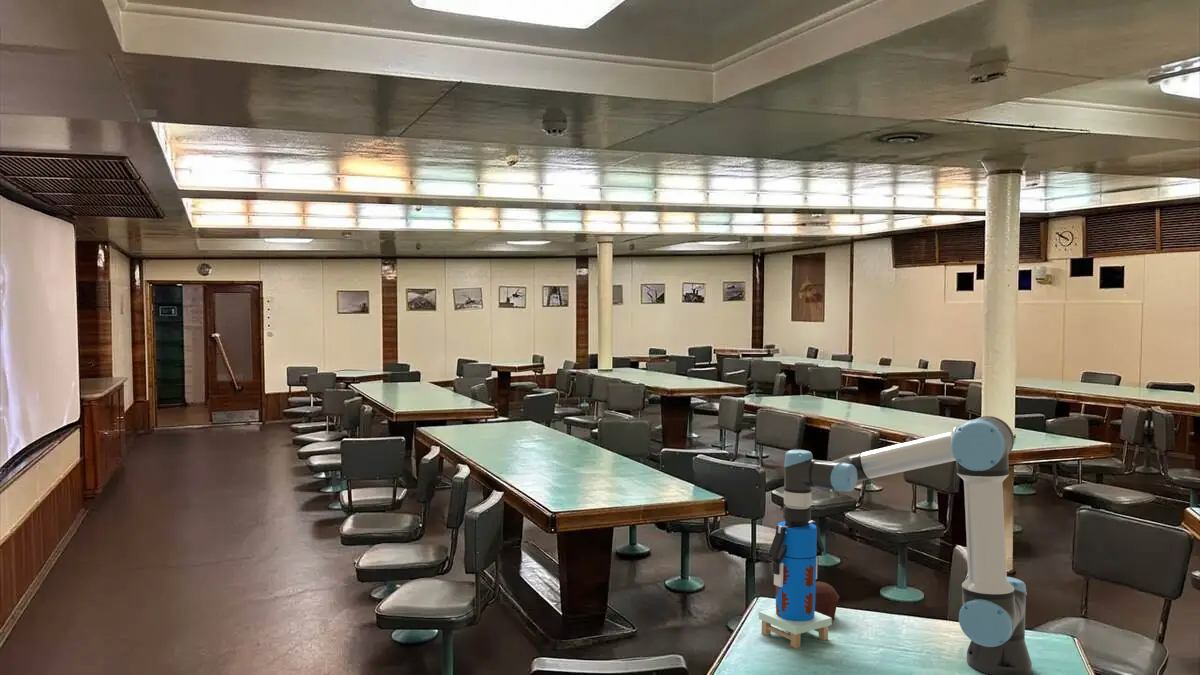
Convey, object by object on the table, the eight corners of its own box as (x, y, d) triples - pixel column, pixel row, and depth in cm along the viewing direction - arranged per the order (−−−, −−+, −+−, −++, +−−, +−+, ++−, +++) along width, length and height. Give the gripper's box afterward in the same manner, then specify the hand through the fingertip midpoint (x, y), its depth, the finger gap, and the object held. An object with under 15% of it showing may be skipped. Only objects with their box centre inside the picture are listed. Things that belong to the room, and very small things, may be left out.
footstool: (831, 639, 231) (831, 617, 231) (795, 649, 223) (796, 627, 223) (793, 623, 243) (793, 603, 242) (758, 632, 235) (758, 611, 235)
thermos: (812, 609, 237) (814, 521, 237) (818, 622, 227) (820, 530, 227) (773, 607, 239) (775, 520, 238) (777, 620, 228) (779, 529, 228)
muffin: (843, 624, 243) (844, 590, 242) (805, 623, 243) (805, 589, 243) (833, 610, 254) (833, 577, 254) (796, 609, 255) (797, 577, 255)
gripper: (817, 498, 242) (816, 571, 243) (755, 508, 228) (753, 585, 229) (838, 503, 236) (836, 578, 236) (775, 513, 222) (773, 592, 223)
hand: (795, 581), depth 233 cm, fingers open, 13 cm apart
